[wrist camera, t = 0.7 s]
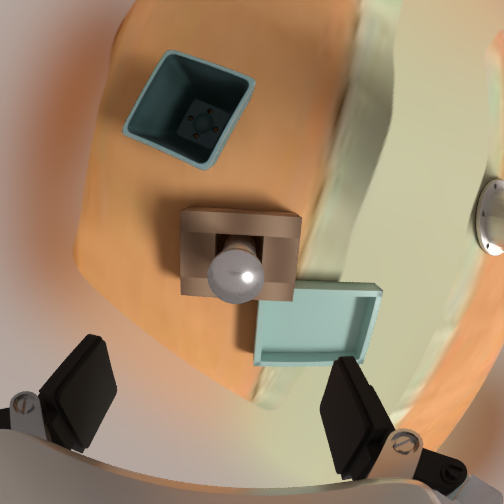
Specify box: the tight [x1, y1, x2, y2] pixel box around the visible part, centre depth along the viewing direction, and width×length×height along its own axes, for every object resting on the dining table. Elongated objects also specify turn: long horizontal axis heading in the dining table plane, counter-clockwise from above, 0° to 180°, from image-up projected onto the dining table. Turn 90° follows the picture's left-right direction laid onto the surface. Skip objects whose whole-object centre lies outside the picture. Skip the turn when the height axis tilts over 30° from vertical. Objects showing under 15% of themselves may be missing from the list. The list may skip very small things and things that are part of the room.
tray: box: [253, 280, 383, 367], centre depth 33 cm, size 15×11×3 cm
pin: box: [207, 234, 264, 304], centre depth 27 cm, size 5×5×10 cm
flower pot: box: [122, 50, 256, 170], centre depth 24 cm, size 9×9×9 cm
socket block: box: [180, 207, 302, 302], centre depth 30 cm, size 12×9×4 cm
